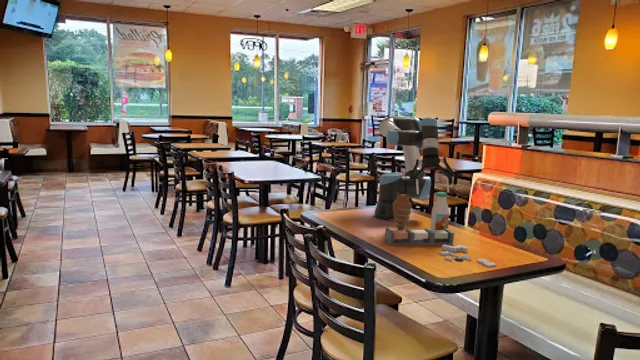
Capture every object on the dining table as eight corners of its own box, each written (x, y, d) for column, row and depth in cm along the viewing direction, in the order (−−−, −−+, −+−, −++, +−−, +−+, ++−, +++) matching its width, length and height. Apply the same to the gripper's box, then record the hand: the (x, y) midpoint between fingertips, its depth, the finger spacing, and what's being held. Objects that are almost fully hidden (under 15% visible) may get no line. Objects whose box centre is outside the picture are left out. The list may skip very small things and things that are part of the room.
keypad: (384, 240, 204) (385, 228, 203) (445, 239, 208) (446, 227, 207) (390, 245, 196) (391, 233, 195) (453, 245, 200) (454, 232, 200)
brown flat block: (390, 235, 202) (390, 230, 202) (403, 235, 203) (404, 230, 203) (394, 238, 197) (394, 233, 197) (407, 238, 198) (408, 233, 198)
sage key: (429, 235, 205) (430, 229, 205) (442, 235, 206) (443, 229, 206) (434, 238, 200) (434, 233, 200) (447, 238, 201) (448, 233, 201)
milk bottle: (427, 235, 214) (431, 192, 211) (432, 232, 221) (435, 190, 217) (444, 238, 210) (448, 195, 207) (448, 234, 217) (452, 192, 214)
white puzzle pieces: (451, 271, 169) (451, 265, 169) (417, 251, 191) (417, 246, 191) (496, 267, 176) (497, 261, 176) (458, 248, 198) (459, 243, 198)
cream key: (410, 235, 204) (410, 230, 203) (423, 235, 205) (423, 230, 204) (414, 238, 199) (414, 233, 198) (427, 238, 200) (428, 233, 199)
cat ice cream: (390, 230, 220) (392, 193, 217) (393, 226, 227) (395, 190, 224) (409, 233, 217) (411, 195, 214) (411, 229, 224) (414, 192, 221)
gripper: (402, 148, 220) (404, 191, 213) (457, 144, 214) (461, 188, 207) (404, 154, 227) (406, 196, 220) (457, 150, 220) (461, 193, 214)
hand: (432, 192), depth 214 cm, fingers open, 13 cm apart
